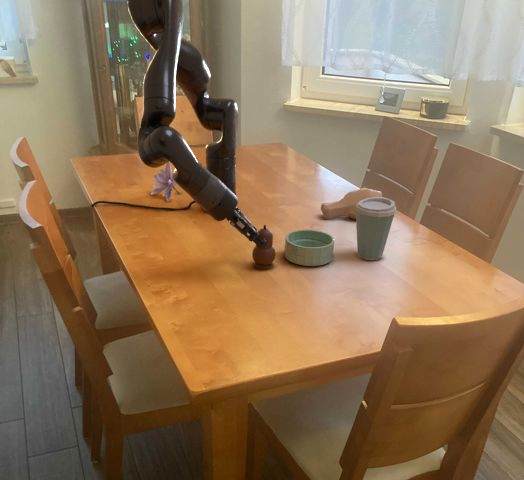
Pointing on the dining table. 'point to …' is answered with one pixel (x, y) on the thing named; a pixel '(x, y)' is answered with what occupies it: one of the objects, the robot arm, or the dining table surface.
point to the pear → (264, 251)
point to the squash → (348, 203)
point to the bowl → (309, 247)
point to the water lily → (164, 182)
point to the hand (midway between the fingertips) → (259, 239)
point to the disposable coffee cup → (373, 226)
